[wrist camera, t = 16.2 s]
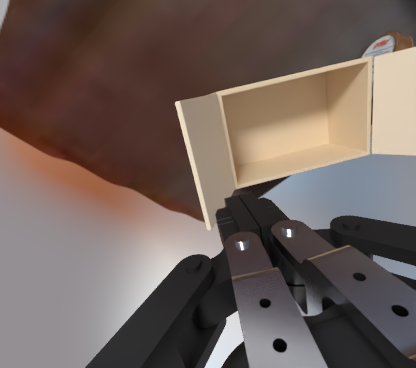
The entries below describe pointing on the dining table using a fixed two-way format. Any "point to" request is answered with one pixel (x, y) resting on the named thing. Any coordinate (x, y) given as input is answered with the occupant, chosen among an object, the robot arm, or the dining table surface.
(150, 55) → the dining table surface
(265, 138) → the carton
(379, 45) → the tin
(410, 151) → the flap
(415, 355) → the robot arm
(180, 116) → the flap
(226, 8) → the dining table surface
